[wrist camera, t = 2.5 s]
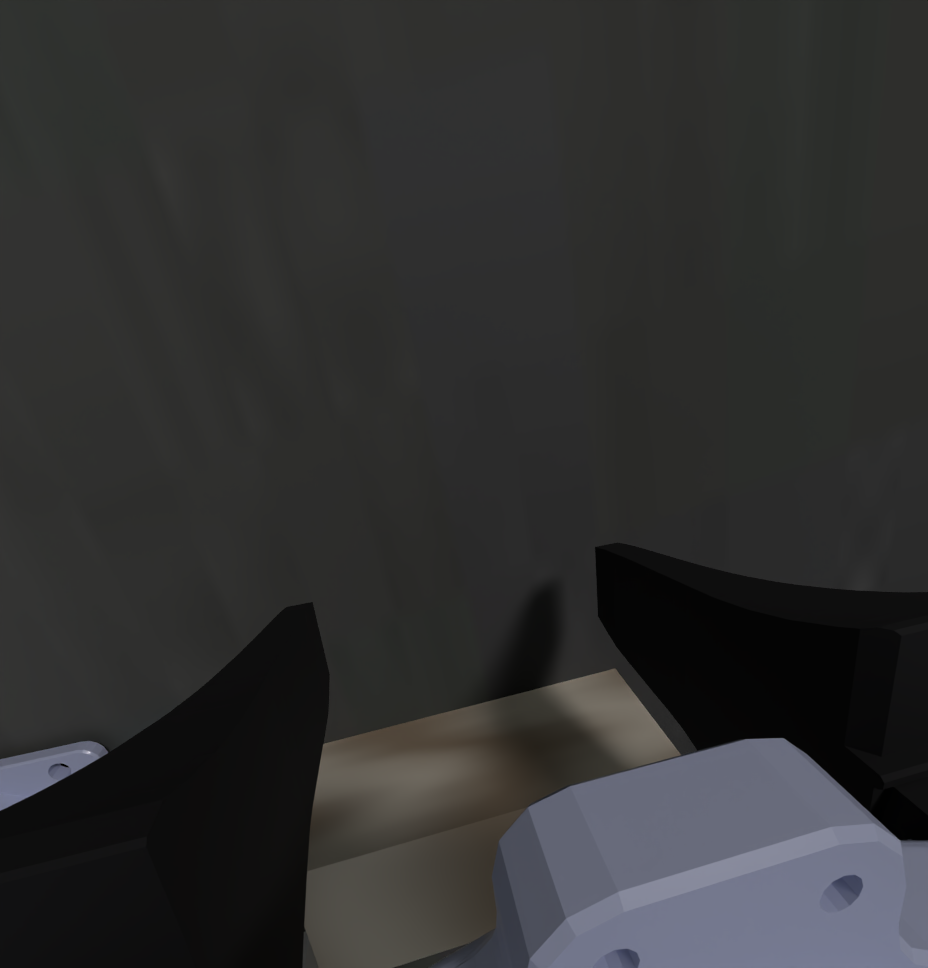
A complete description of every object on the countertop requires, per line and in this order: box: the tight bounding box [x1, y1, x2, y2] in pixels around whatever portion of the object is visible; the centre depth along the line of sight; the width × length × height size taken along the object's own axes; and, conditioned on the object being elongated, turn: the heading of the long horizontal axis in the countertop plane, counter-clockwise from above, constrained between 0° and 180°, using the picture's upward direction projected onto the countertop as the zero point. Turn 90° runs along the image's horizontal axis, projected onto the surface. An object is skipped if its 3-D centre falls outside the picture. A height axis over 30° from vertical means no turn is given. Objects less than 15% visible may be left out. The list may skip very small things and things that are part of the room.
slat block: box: [304, 669, 681, 968], centre depth 14 cm, size 10×4×4 cm, turn 99°
